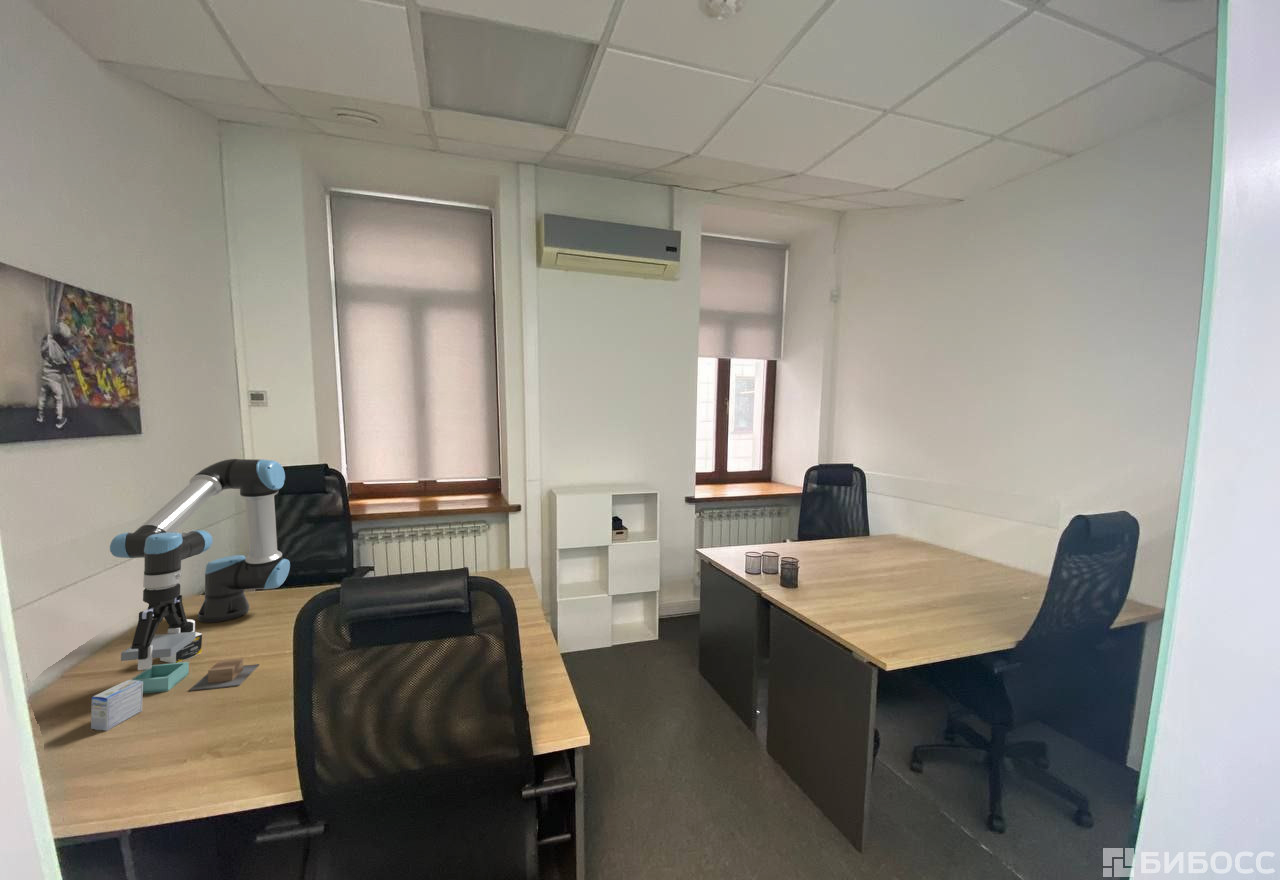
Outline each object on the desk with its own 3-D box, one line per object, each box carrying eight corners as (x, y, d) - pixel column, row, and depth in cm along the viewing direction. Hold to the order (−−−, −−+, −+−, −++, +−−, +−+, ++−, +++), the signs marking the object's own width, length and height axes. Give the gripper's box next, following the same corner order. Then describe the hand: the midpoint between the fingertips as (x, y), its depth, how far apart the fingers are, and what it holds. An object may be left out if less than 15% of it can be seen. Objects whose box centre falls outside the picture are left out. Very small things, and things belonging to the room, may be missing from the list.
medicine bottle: (176, 664, 142) (177, 627, 142) (159, 661, 144) (160, 624, 143) (202, 653, 149) (203, 618, 149) (185, 650, 151) (186, 616, 150)
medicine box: (127, 710, 120) (127, 679, 119) (142, 711, 120) (143, 680, 119) (90, 730, 112) (90, 696, 112) (106, 731, 112) (107, 697, 111)
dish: (151, 678, 134) (151, 665, 134) (188, 674, 137) (188, 661, 137) (127, 695, 126) (128, 681, 126) (168, 691, 129) (168, 677, 128)
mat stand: (213, 669, 140) (213, 656, 140) (259, 665, 144) (259, 652, 144) (188, 691, 129) (188, 677, 129) (238, 686, 133) (239, 672, 133)
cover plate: (149, 642, 135) (150, 635, 135) (195, 639, 138) (195, 631, 138) (120, 661, 124) (121, 652, 124) (170, 656, 128) (171, 648, 128)
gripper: (149, 599, 121) (146, 678, 121) (203, 572, 143) (200, 639, 143) (113, 601, 119) (110, 681, 119) (173, 573, 141) (171, 641, 141)
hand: (159, 658), depth 131 cm, fingers closed on cover plate, 11 cm apart
